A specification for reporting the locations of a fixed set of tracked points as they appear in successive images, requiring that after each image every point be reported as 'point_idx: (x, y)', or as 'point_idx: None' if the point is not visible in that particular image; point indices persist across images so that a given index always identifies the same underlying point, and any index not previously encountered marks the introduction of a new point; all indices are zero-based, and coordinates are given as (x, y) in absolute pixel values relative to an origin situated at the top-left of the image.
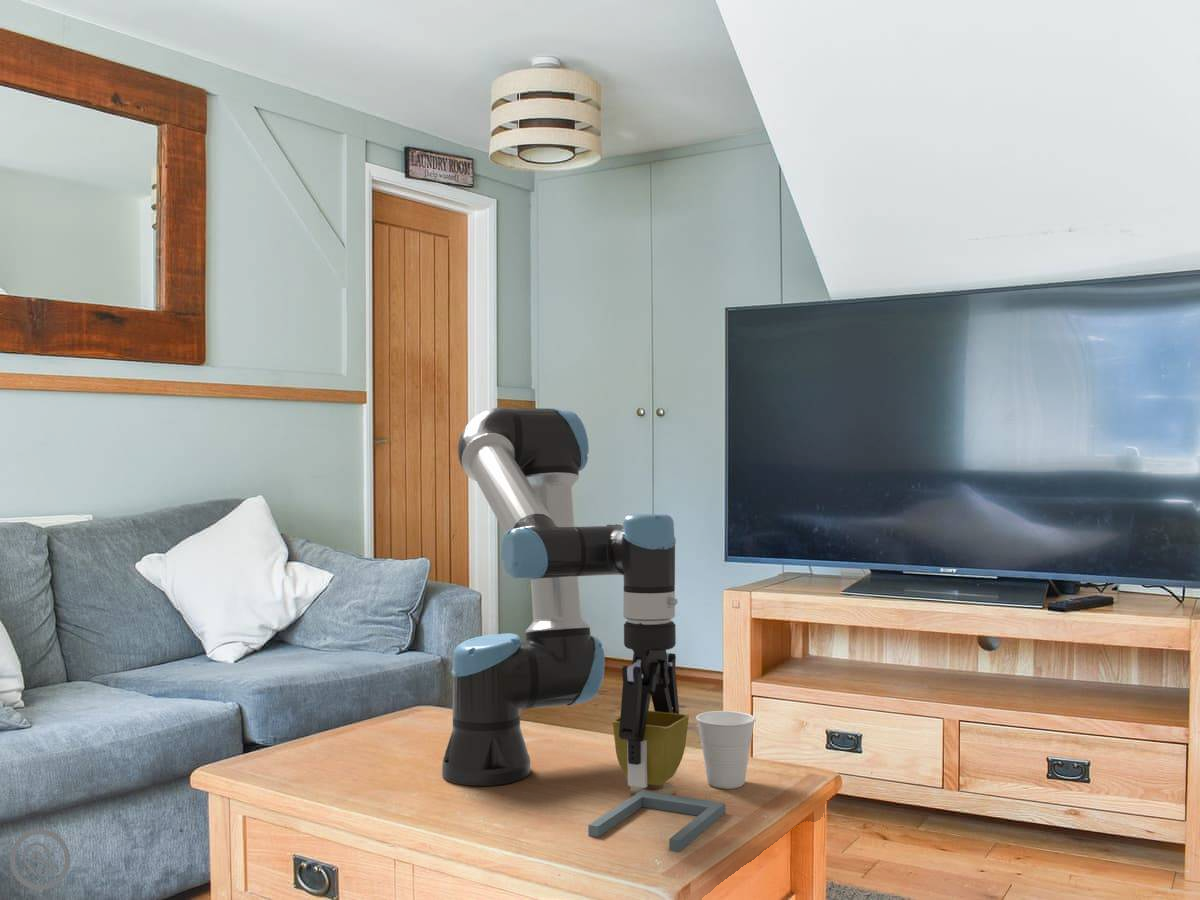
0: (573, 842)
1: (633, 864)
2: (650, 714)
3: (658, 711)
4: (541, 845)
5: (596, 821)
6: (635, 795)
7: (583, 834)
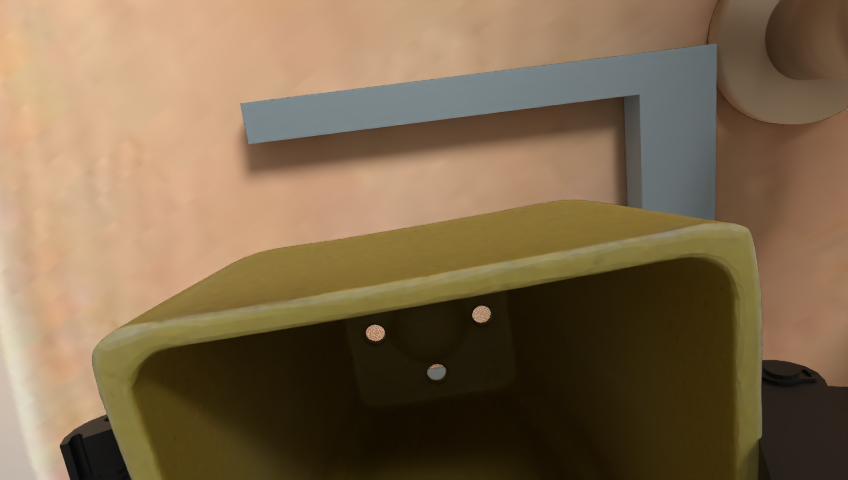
0: (165, 97)
1: None
2: (717, 389)
3: (760, 475)
4: (63, 14)
5: (291, 106)
6: (643, 59)
7: (251, 79)
